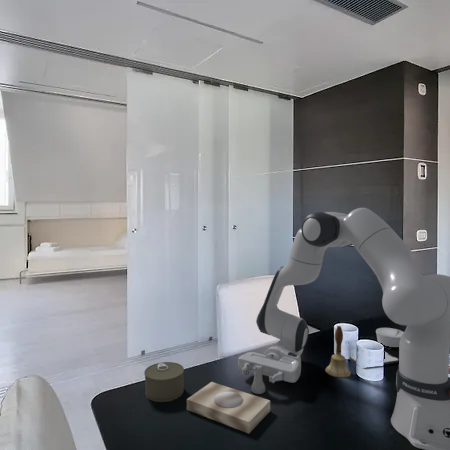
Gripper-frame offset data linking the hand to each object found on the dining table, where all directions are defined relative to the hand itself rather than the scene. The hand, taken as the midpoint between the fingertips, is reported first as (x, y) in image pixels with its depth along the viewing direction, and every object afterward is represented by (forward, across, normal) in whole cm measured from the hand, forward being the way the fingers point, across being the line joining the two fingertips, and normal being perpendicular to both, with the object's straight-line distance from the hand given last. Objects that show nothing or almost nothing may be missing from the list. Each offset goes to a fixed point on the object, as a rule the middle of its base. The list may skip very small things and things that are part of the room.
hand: (257, 376), depth 112 cm
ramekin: (-63, +28, +5) cm, 69 cm away
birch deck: (+13, -2, +5) cm, 14 cm away
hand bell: (-27, +17, +5) cm, 32 cm away
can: (+15, -24, +5) cm, 29 cm away
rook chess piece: (-1, 0, +5) cm, 5 cm away
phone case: (-43, +26, +6) cm, 50 cm away
